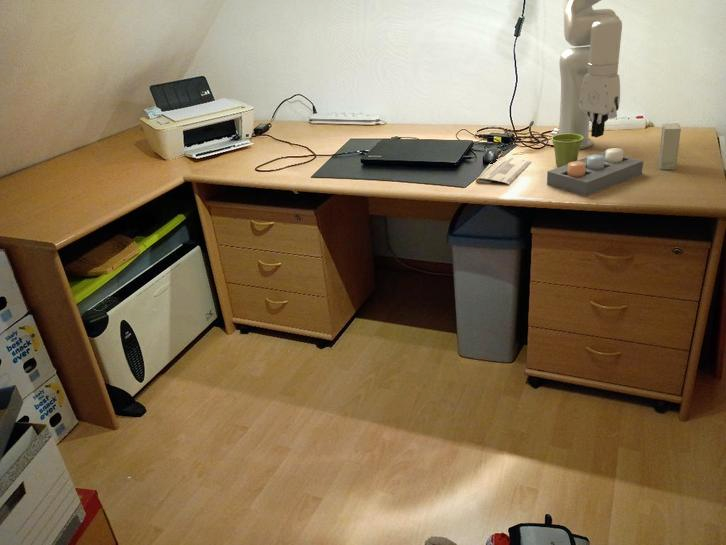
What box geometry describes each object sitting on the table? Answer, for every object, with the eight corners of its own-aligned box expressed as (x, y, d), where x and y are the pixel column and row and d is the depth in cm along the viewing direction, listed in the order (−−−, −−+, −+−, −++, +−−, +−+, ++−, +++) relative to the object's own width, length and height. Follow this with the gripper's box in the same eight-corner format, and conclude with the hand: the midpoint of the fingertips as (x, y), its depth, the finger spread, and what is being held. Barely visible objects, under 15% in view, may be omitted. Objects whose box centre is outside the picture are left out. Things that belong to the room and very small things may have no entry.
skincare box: (676, 169, 178) (682, 128, 172) (659, 169, 179) (664, 129, 174) (673, 163, 183) (679, 122, 177) (657, 163, 184) (662, 123, 179)
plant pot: (544, 164, 194) (545, 137, 190) (567, 157, 197) (569, 131, 193) (563, 171, 186) (565, 143, 182) (588, 164, 189) (590, 137, 185)
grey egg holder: (546, 184, 178) (547, 171, 176) (602, 164, 188) (603, 151, 187) (585, 196, 167) (586, 182, 165) (641, 174, 178) (643, 160, 176)
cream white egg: (601, 165, 181) (602, 151, 179) (611, 161, 183) (613, 147, 181) (614, 168, 177) (616, 154, 175) (625, 164, 179) (627, 150, 177)
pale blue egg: (582, 171, 178) (583, 157, 176) (593, 167, 180) (594, 153, 178) (596, 175, 174) (597, 161, 172) (607, 171, 176) (608, 156, 174)
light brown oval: (563, 178, 174) (564, 164, 172) (575, 174, 176) (575, 160, 174) (576, 182, 170) (577, 168, 168) (588, 178, 173) (589, 163, 171)
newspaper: (494, 161, 203) (495, 154, 202) (530, 168, 198) (531, 160, 196) (468, 184, 186) (469, 176, 185) (507, 191, 181) (508, 184, 180)
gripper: (571, 69, 168) (567, 134, 177) (617, 75, 156) (610, 144, 165) (589, 63, 171) (584, 127, 180) (636, 69, 159) (628, 137, 168)
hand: (597, 135), depth 173 cm, fingers closed
